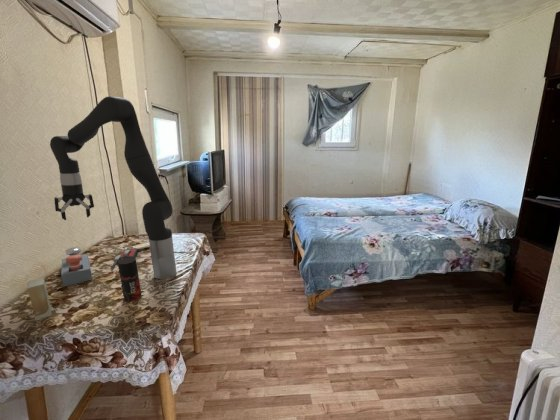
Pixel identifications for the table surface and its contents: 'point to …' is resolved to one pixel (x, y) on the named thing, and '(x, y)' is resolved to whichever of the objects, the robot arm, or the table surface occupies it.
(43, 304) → the skincare box
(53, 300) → the table surface
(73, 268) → the red plunger
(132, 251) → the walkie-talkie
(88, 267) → the press block
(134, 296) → the deodorant
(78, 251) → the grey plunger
